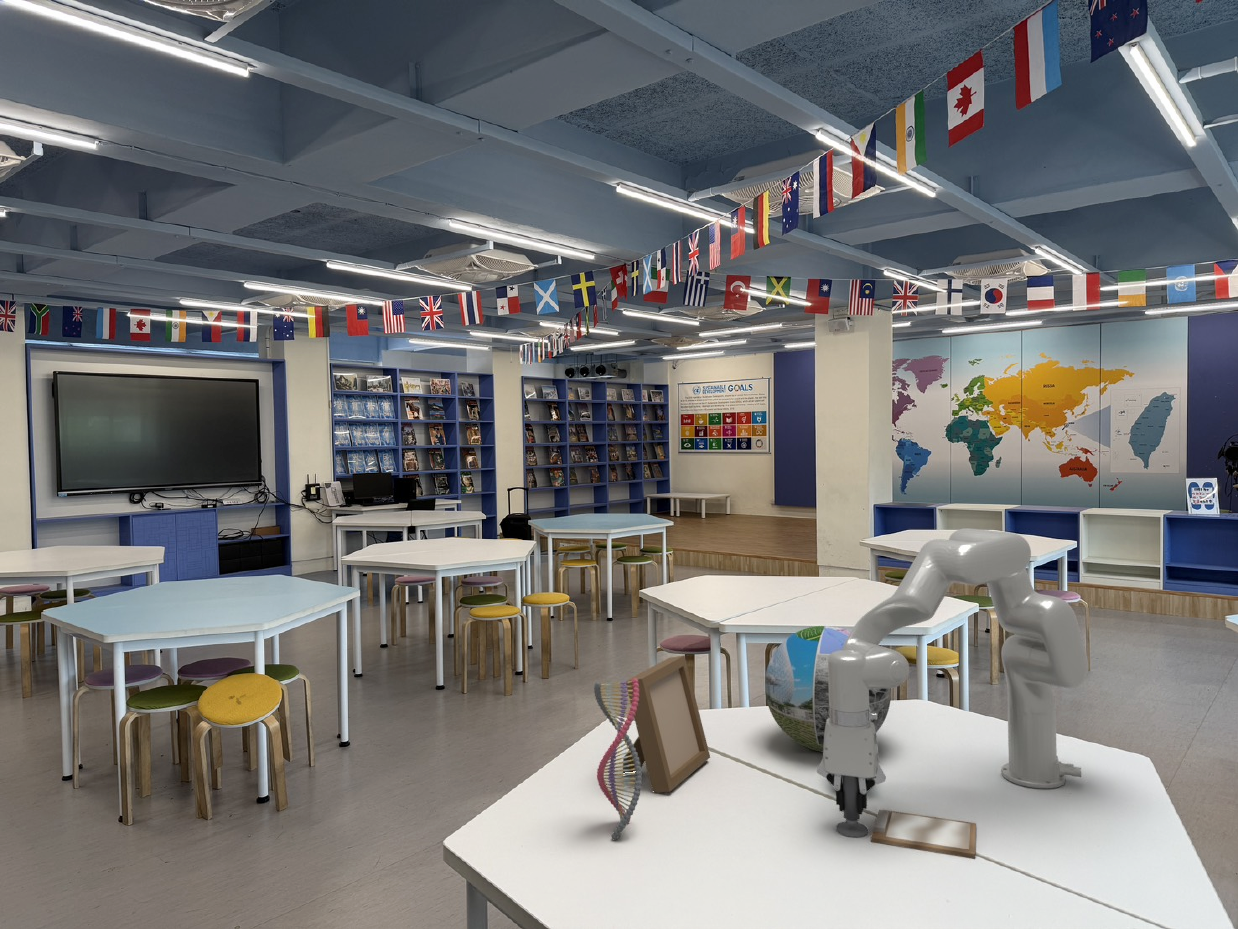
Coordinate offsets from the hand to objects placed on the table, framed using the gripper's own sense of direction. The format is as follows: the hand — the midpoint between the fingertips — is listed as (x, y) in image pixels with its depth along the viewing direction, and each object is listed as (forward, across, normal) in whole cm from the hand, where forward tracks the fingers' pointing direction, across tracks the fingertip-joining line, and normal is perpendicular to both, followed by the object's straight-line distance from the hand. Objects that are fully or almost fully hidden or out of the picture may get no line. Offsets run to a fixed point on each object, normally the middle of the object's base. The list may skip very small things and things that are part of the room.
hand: (851, 809), depth 161 cm
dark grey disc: (+4, 0, 0) cm, 4 cm away
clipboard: (+4, -13, -3) cm, 14 cm away
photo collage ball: (+4, +12, -42) cm, 44 cm away
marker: (+3, 0, 0) cm, 3 cm away
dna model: (+4, +42, +16) cm, 45 cm away
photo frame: (+4, +45, -14) cm, 47 cm away
